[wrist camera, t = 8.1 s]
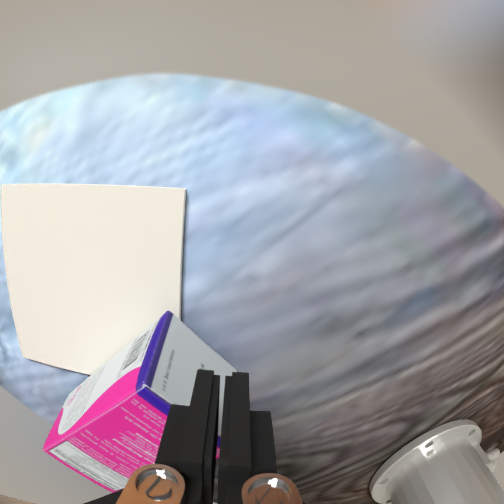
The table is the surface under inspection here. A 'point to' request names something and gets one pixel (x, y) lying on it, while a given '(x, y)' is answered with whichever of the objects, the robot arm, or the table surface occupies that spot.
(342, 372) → the table surface
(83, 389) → the supplement box
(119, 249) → the mat
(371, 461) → the table surface
